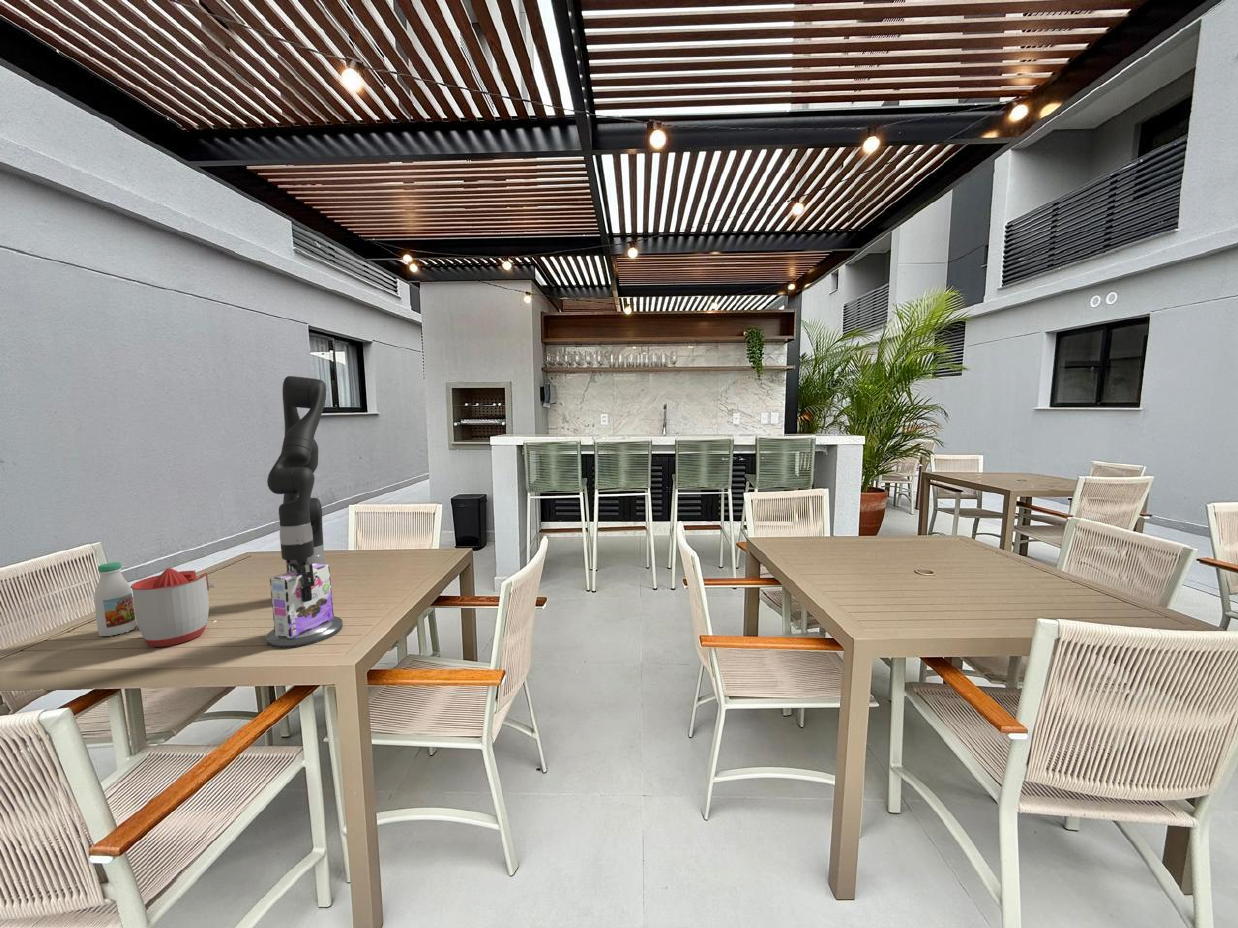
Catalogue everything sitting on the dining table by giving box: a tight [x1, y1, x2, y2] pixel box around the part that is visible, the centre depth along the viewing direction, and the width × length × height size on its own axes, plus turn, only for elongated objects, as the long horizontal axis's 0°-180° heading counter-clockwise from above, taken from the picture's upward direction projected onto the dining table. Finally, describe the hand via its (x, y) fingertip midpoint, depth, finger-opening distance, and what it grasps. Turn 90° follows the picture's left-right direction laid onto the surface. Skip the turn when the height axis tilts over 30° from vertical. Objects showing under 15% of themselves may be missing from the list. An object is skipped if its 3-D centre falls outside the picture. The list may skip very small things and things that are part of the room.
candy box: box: [269, 563, 335, 639], centre depth 139 cm, size 14×6×16 cm, turn 161°
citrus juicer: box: [130, 567, 215, 648], centre depth 139 cm, size 16×17×20 cm
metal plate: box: [265, 616, 344, 649], centre depth 140 cm, size 18×18×2 cm
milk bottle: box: [93, 562, 137, 637], centre depth 143 cm, size 8×8×20 cm
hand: (301, 597), depth 139 cm, fingers open, 8 cm apart
